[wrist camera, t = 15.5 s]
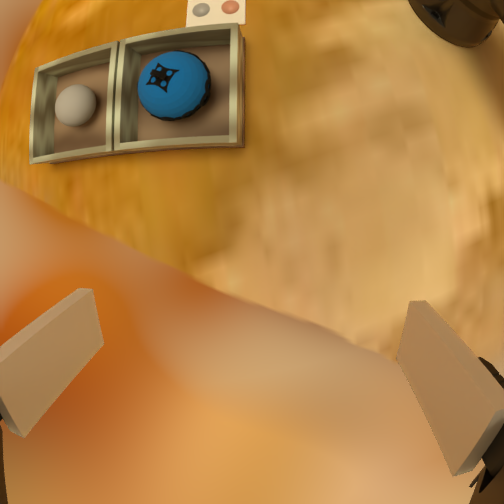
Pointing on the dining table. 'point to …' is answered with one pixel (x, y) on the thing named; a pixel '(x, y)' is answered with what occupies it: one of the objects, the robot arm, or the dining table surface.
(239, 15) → the card
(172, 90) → the ornament
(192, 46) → the two-compartment wooden tray
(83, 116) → the ball
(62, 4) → the dining table surface
